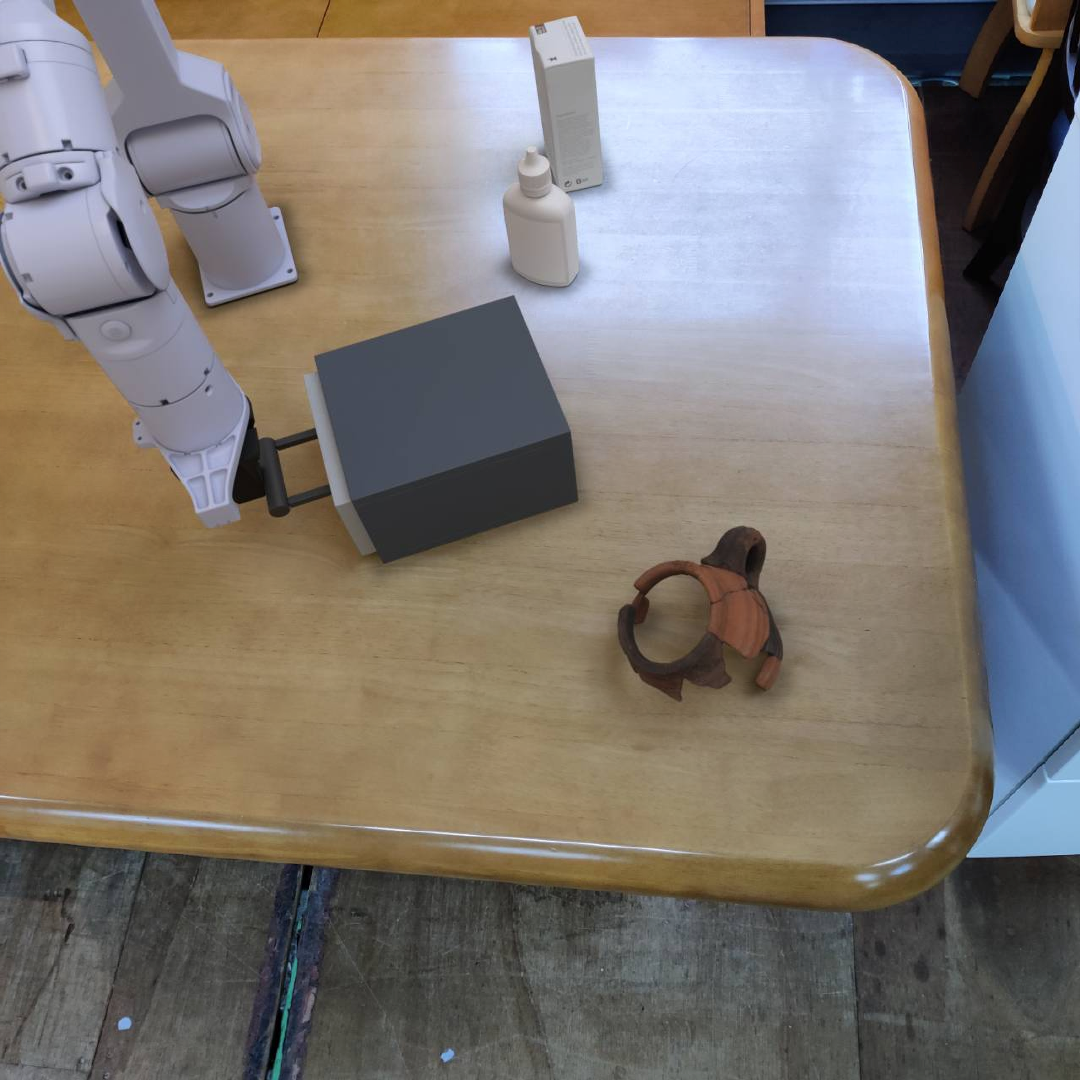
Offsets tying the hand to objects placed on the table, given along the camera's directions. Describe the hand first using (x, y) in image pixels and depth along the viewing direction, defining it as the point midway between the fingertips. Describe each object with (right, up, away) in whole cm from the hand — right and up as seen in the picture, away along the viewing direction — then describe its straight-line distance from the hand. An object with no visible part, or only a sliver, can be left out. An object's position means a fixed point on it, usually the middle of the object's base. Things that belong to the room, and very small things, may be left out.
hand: (250, 492), depth 66 cm
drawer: (+10, +2, +4) cm, 11 cm away
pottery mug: (+31, -10, -4) cm, 33 cm away
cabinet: (+14, +2, +5) cm, 15 cm away
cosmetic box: (+23, +30, +19) cm, 42 cm away
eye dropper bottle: (+21, +19, +13) cm, 31 cm away
